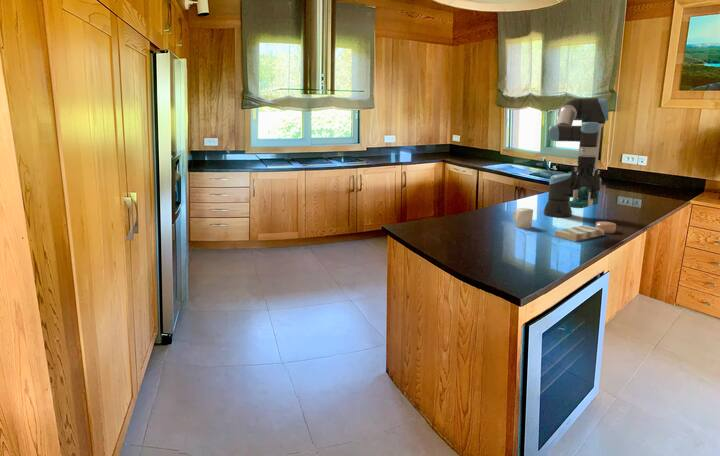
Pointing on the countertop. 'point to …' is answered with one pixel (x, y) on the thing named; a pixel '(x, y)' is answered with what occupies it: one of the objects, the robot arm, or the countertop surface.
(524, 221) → the mug
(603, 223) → the peach flattened dome
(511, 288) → the countertop surface
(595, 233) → the tray
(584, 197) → the bracket
